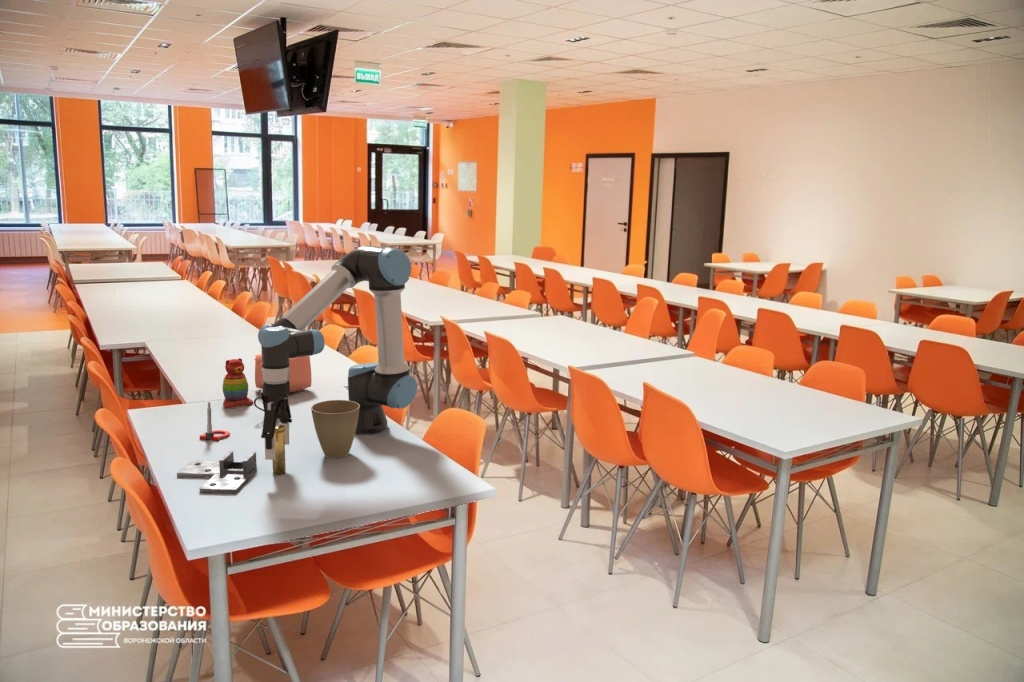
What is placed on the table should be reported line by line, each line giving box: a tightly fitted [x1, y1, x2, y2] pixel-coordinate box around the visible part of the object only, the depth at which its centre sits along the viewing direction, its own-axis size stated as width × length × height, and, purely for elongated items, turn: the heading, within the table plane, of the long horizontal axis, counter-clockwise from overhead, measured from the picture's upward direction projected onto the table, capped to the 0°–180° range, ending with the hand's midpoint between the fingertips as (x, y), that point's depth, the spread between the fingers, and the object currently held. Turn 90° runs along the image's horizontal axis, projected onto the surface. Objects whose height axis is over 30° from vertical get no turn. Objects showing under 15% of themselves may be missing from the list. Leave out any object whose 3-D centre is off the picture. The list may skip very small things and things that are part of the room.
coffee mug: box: [253, 389, 279, 418], centre depth 276 cm, size 12×9×10 cm
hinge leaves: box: [176, 450, 258, 495], centre depth 217 cm, size 21×21×5 cm
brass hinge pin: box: [271, 424, 287, 476], centre depth 222 cm, size 4×4×14 cm
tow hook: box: [199, 401, 231, 442], centre depth 253 cm, size 8×13×9 cm
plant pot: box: [310, 399, 360, 459], centre depth 238 cm, size 15×15×16 cm
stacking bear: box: [222, 357, 254, 409], centre depth 291 cm, size 11×10×18 cm
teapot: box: [254, 353, 312, 393], centre depth 314 cm, size 25×23×18 cm
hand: (277, 451), depth 222 cm, fingers open, 13 cm apart
